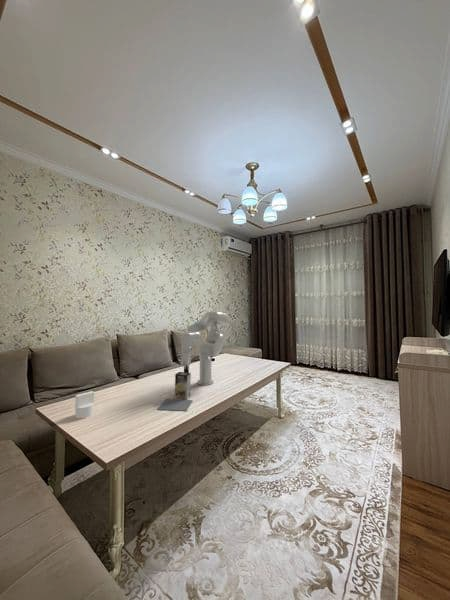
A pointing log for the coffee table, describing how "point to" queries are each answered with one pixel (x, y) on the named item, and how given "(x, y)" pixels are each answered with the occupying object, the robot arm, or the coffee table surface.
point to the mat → (175, 405)
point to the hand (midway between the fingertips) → (186, 375)
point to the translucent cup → (84, 405)
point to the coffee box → (182, 385)
